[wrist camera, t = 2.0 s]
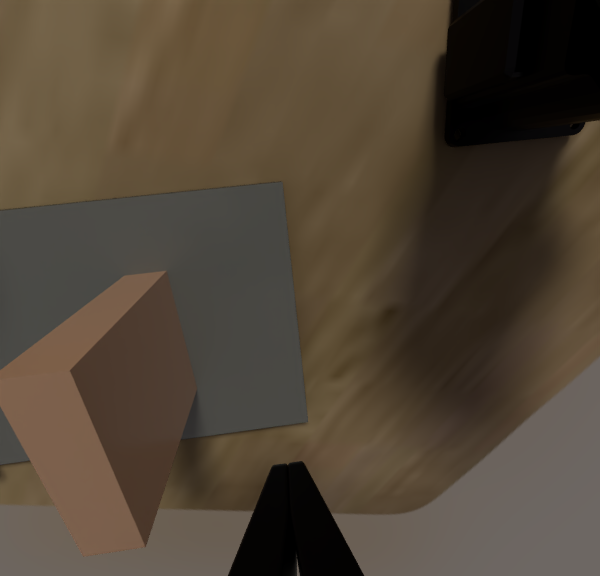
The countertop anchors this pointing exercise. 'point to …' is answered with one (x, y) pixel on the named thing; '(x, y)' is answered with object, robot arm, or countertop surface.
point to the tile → (105, 410)
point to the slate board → (185, 287)
